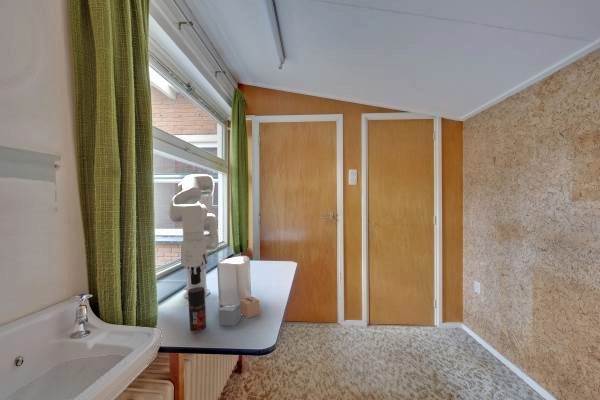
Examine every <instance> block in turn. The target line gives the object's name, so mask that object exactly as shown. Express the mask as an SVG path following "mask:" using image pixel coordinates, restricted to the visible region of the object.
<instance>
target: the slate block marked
mask: <svg viewBox="0 0 600 400" xmlns="http://www.w3.org/2000/svg"><path fill="white" fill-rule="evenodd" d="M218 319H219V320H218V321H219V326H230V325H232V327H233V326H235V323H236V322H237V321H238V322H239V321H240V319H241V314H240V305H239V304H225V305H224V306H221V307H220V308H219V310H218ZM238 322H237V323H238ZM237 323H236V324H237Z"/></svg>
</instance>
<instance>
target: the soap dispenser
mask: <svg viewBox="0 0 600 400" xmlns="http://www.w3.org/2000/svg"><path fill="white" fill-rule="evenodd" d="M250 261H251V259H250V257H249V256H247V255H239V256H233V257H230V258H225V259H222V260H219V261H217V262H216V266H217V267H216V269H217V273H216V274H217V290H218V291H217V292H218V305H219V306H221V307H223V306H224V305H225V304H239V305H240V300H242V299H245V298H248V297H251V296H252V281H251V280H252V279H251V278H252V277H251V262H250Z"/></svg>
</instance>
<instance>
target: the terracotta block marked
mask: <svg viewBox="0 0 600 400" xmlns="http://www.w3.org/2000/svg"><path fill="white" fill-rule="evenodd" d="M260 313H261V311H260V299H259V298H256V297H254V296H252V295H251V297H248V298H245V299H242V300H240V315H241V314H242V315H241V316H243V317H244V316H245V317H244V318H246V319H249V317H250V318H252V317H255V316H257V315H259V314H260Z"/></svg>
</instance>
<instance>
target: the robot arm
mask: <svg viewBox="0 0 600 400" xmlns="http://www.w3.org/2000/svg"><path fill="white" fill-rule="evenodd" d="M214 181H215V180H214V178H213V177H212V176H211V175H209V174H188V175H186V176H185V177H184V178H183V180H182V182H179V183H178V186H177V190H178V193H177V194H176V195H174V196H173V198H172V199H171V201H170V205H169V218H170V220H171V222H172V223H173V224H174V223H175V224H182V240H181V246H180V248H181V249H180V264H181V265H182V266H183V267H184V268H185V271H186V285H185V286H184V287H183V290H186V292H185V293H184V295H183V296H184V298H185V299H188V290H190V289H192V288H196V287H203V288H204V290H205V297H207V296H208V295H210V294H211V290H210V289H209V288H208V287H207V286H208V285H207V264H208V258H209V257H208V252H215V251H217V250H218V248H219V246H220V245H219V230H218V229H219V228H218V220H217V217H216V215H215V214H213V213H208V208H207V206H206V205H205V204H203V203H200V200H202V198H205V197H212V195H213V194H214V190H215V182H214ZM205 232H208V233H205Z"/></svg>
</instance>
